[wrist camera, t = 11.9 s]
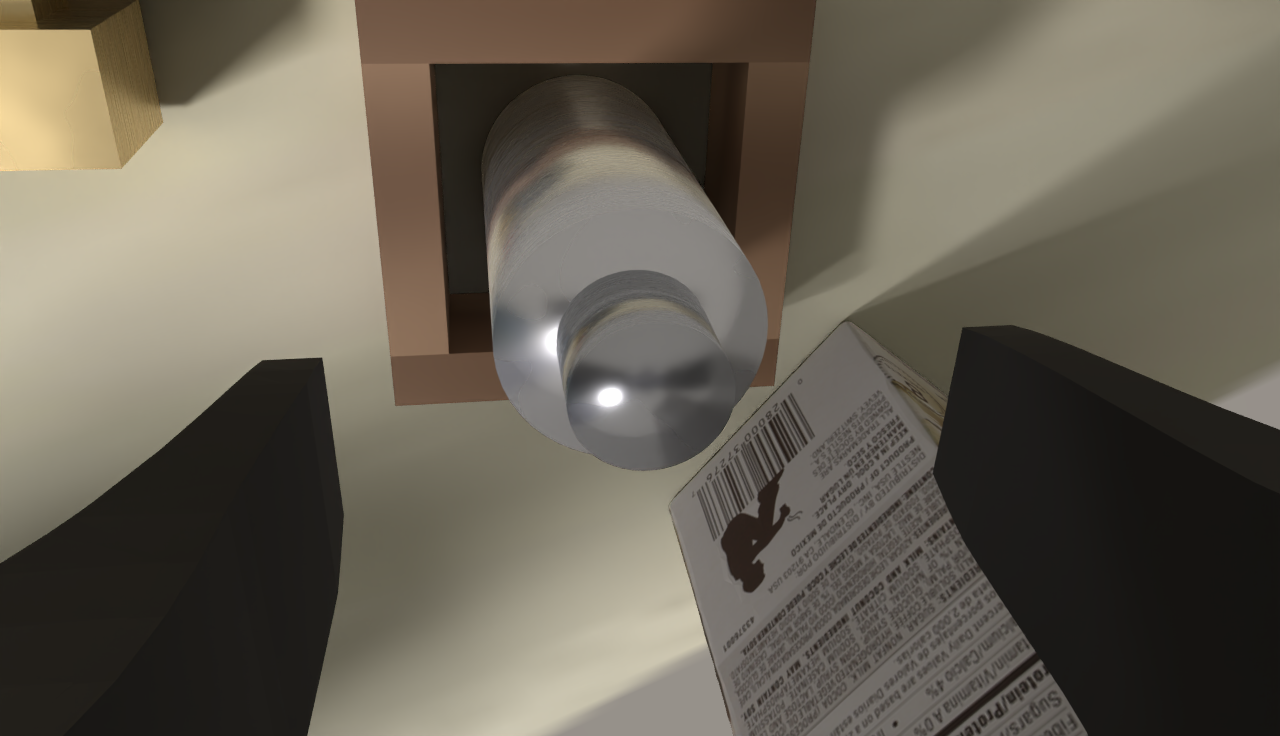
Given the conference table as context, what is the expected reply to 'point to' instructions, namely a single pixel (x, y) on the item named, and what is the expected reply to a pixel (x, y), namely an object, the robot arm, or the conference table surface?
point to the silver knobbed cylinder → (612, 279)
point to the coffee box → (852, 568)
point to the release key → (74, 84)
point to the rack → (569, 33)
